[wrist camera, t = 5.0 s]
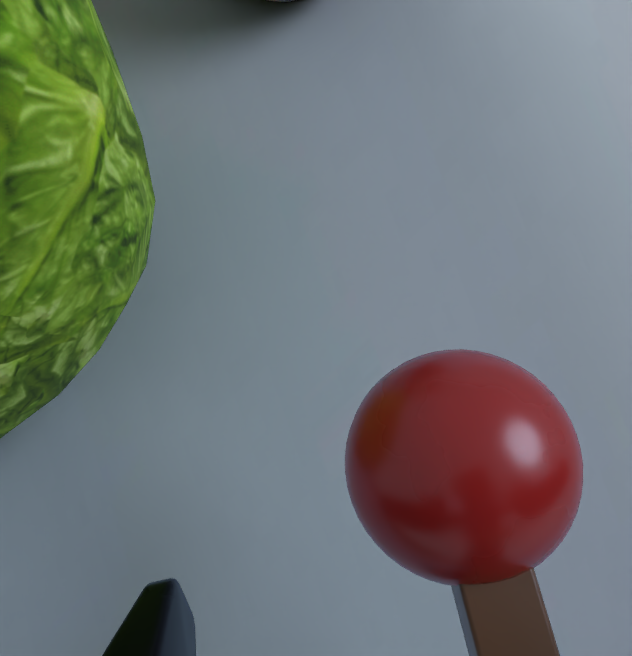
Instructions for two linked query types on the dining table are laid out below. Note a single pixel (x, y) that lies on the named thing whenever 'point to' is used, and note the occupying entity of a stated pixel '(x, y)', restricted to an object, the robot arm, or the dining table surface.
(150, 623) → the robot arm
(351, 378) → the dining table surface
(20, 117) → the lettuce
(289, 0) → the vase
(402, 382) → the lever
